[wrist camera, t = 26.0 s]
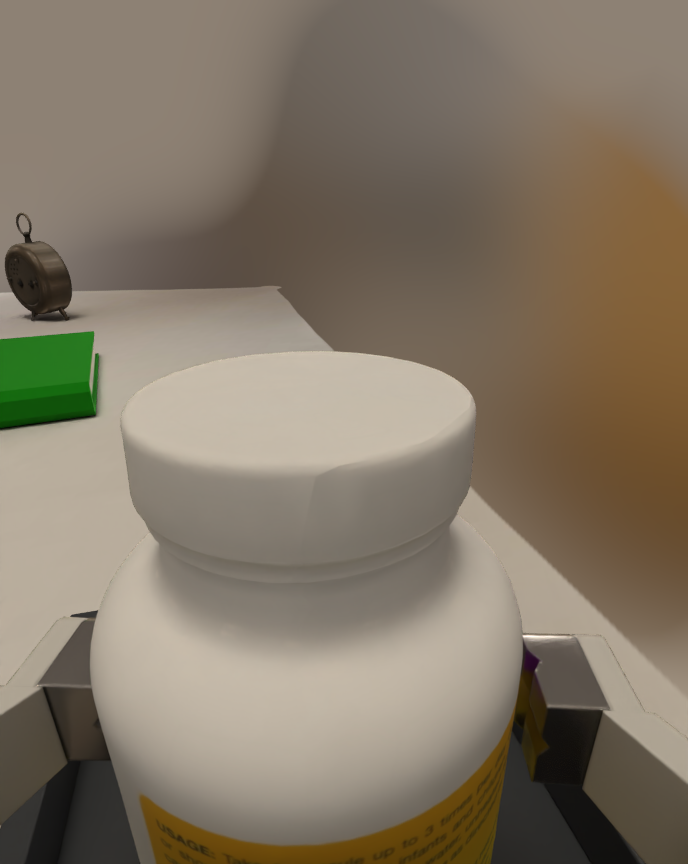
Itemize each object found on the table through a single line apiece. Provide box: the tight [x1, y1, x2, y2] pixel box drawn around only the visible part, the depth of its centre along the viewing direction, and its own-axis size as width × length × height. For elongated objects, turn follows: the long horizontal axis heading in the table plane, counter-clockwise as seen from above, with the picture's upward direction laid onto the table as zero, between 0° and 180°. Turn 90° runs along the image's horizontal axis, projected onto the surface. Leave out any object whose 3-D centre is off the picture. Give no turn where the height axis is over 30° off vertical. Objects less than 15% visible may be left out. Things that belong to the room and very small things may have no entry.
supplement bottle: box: [90, 351, 523, 864], centre depth 9 cm, size 7×7×13 cm
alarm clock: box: [5, 213, 72, 321], centre depth 82 cm, size 11×5×16 cm, turn 60°
